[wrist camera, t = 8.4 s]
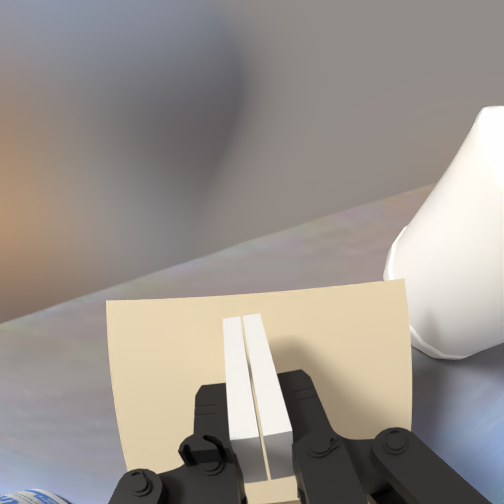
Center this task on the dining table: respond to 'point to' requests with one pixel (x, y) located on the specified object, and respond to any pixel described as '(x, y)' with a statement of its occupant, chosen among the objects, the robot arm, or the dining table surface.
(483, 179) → the bottle
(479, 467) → the dining table surface
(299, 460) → the robot arm
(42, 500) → the supplement tub
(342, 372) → the flap
